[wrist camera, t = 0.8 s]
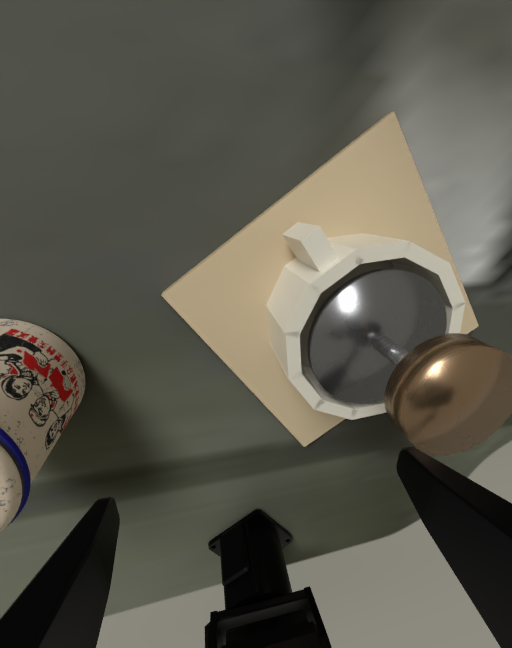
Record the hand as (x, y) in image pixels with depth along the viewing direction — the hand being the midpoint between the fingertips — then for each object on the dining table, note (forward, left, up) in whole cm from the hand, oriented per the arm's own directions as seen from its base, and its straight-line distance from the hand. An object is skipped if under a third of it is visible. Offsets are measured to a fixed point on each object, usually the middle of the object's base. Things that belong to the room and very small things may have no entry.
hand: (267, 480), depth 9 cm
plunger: (-4, -7, -8) cm, 12 cm away
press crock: (-4, -7, -14) cm, 16 cm away
